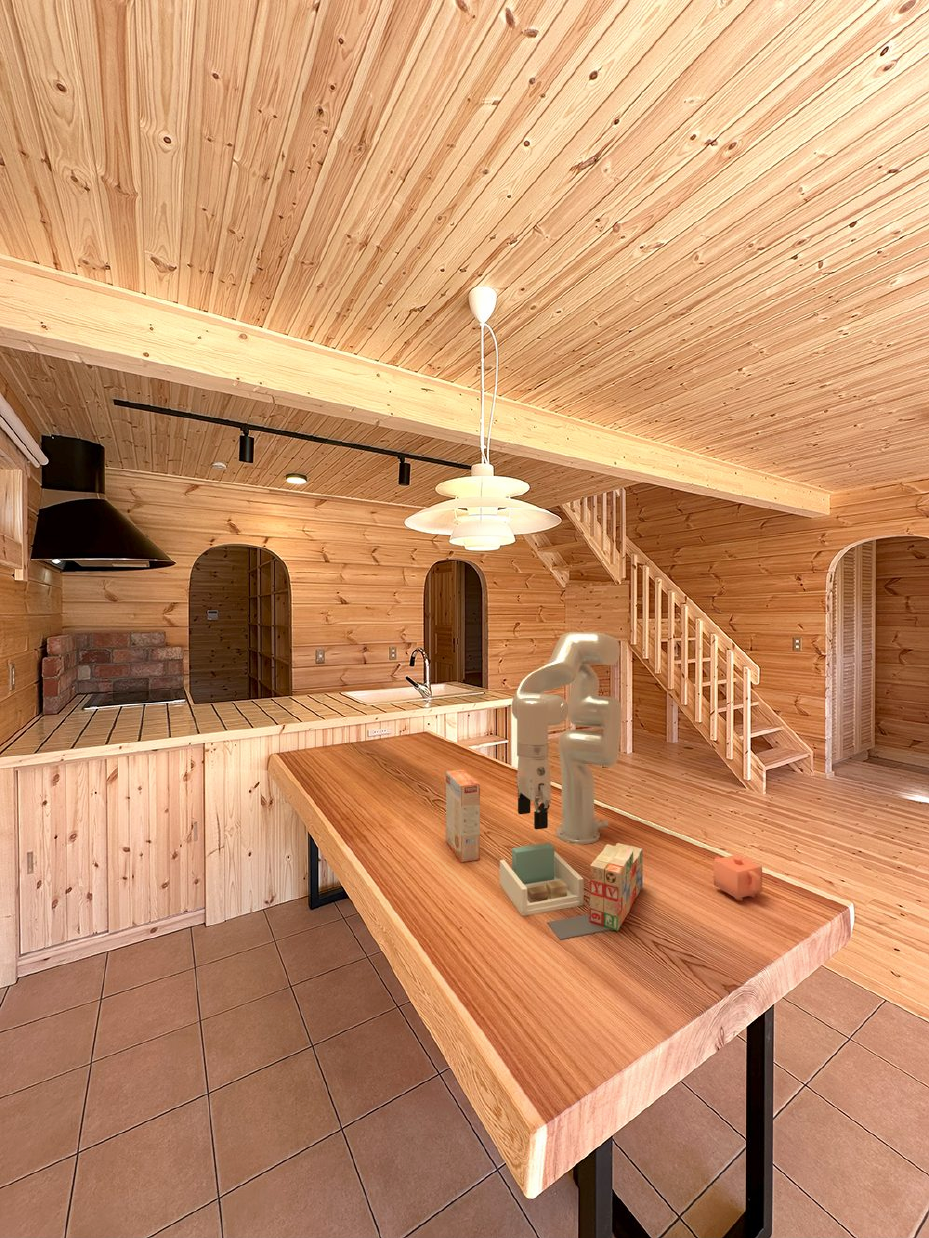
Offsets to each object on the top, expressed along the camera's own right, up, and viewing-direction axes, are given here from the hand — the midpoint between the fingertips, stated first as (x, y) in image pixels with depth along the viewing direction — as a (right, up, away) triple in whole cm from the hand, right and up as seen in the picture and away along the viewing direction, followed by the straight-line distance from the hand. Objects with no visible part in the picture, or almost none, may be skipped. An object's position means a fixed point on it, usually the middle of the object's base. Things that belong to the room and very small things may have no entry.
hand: (532, 820), depth 125 cm
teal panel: (0, -15, +1) cm, 15 cm away
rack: (+1, -16, -3) cm, 17 cm away
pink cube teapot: (+48, -16, -2) cm, 51 cm away
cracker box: (-17, -16, +20) cm, 31 cm away
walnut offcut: (0, -15, -7) cm, 17 cm away
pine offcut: (+5, -15, -6) cm, 17 cm away
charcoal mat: (+8, -16, -15) cm, 24 cm away
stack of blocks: (+18, -16, -7) cm, 26 cm away
